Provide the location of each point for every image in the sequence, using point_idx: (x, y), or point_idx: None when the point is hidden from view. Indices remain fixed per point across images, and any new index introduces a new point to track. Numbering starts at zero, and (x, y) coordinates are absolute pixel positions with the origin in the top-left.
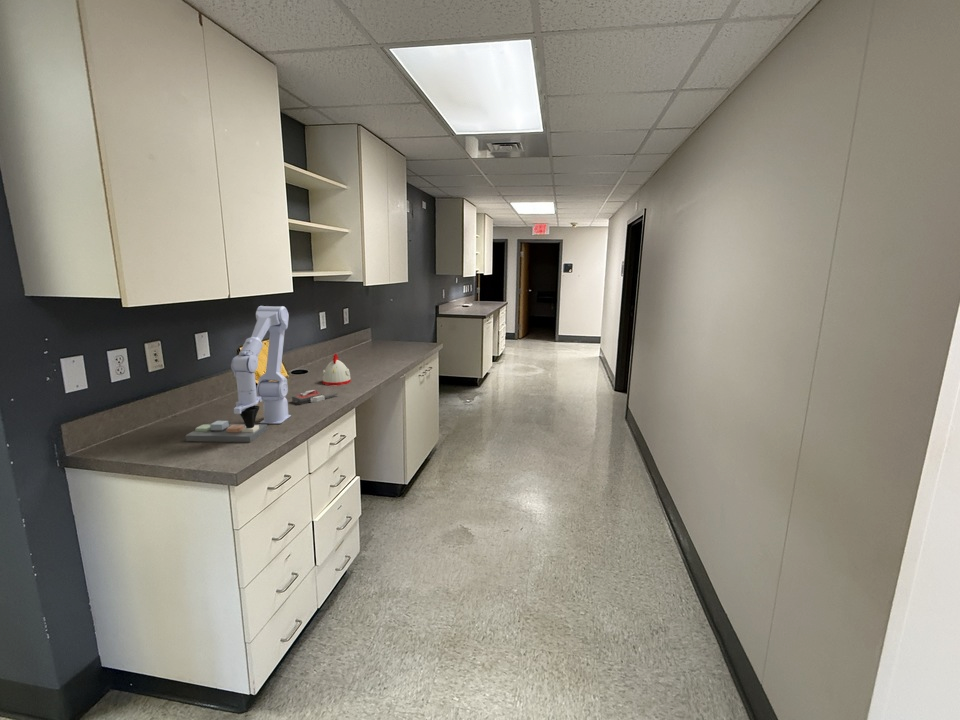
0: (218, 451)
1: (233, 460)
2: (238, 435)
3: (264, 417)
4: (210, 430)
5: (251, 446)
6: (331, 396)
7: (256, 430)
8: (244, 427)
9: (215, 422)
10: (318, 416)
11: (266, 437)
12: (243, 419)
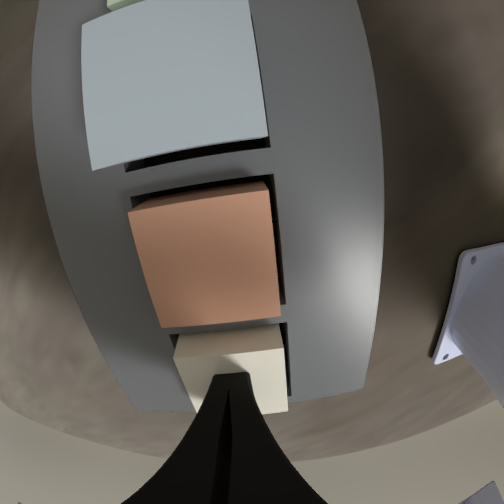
0: (8, 302)
1: (17, 386)
2: (113, 352)
3: (493, 281)
4: None
5: (109, 402)
6: None
7: None
8: (217, 357)
9: (160, 14)
10: (469, 403)
11: None
12: (183, 441)
